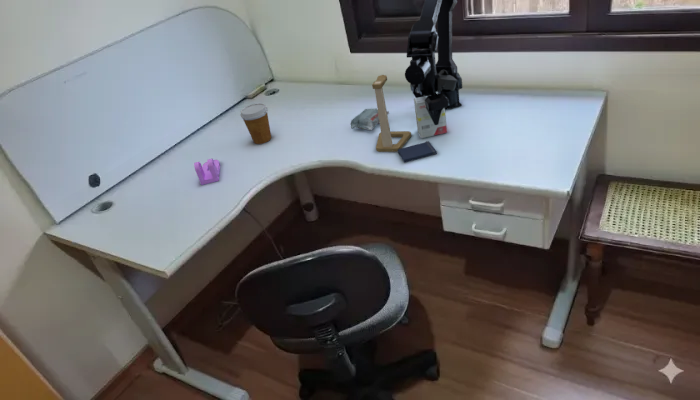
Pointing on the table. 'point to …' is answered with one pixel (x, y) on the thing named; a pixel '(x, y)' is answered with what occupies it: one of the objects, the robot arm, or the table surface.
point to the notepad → (417, 151)
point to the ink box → (428, 120)
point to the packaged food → (366, 119)
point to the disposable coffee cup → (257, 122)
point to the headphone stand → (386, 122)
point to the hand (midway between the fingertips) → (431, 119)
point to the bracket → (205, 174)
